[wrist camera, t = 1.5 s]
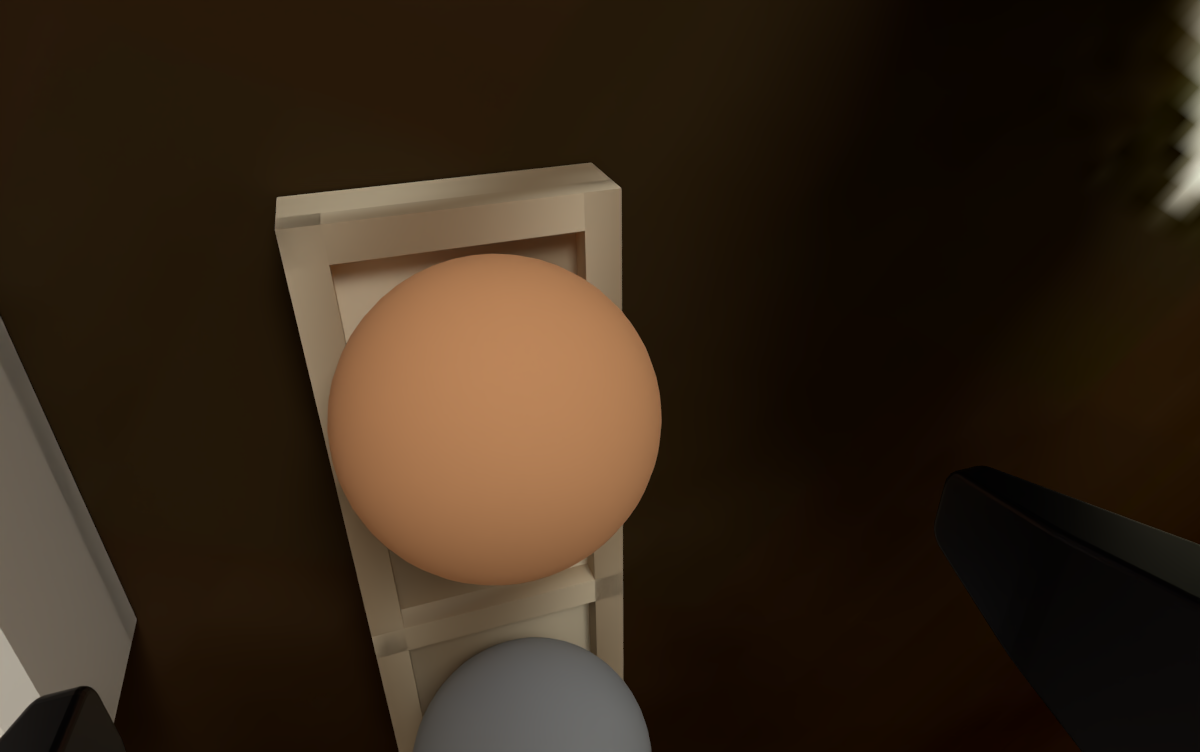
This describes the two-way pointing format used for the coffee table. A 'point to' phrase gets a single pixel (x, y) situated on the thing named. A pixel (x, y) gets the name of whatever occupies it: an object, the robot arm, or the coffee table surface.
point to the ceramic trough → (50, 566)
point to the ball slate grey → (533, 703)
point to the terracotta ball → (494, 419)
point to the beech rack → (325, 322)
